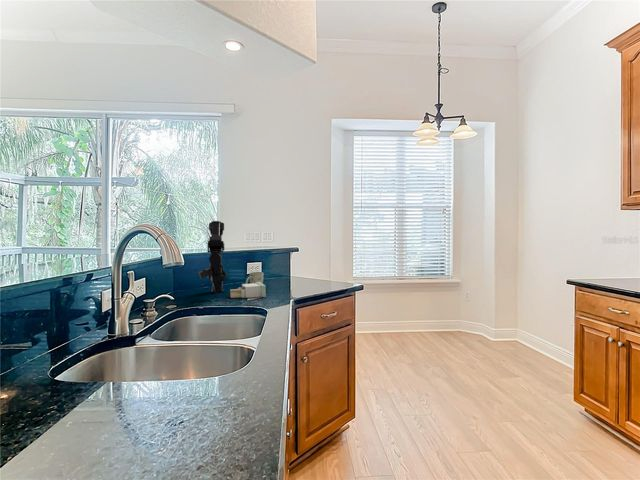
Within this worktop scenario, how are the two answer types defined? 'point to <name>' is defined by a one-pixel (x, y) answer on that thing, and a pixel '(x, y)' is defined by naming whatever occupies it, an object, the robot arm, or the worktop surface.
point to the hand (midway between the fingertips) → (216, 293)
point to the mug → (255, 277)
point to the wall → (262, 289)
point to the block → (250, 290)
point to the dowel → (235, 293)
